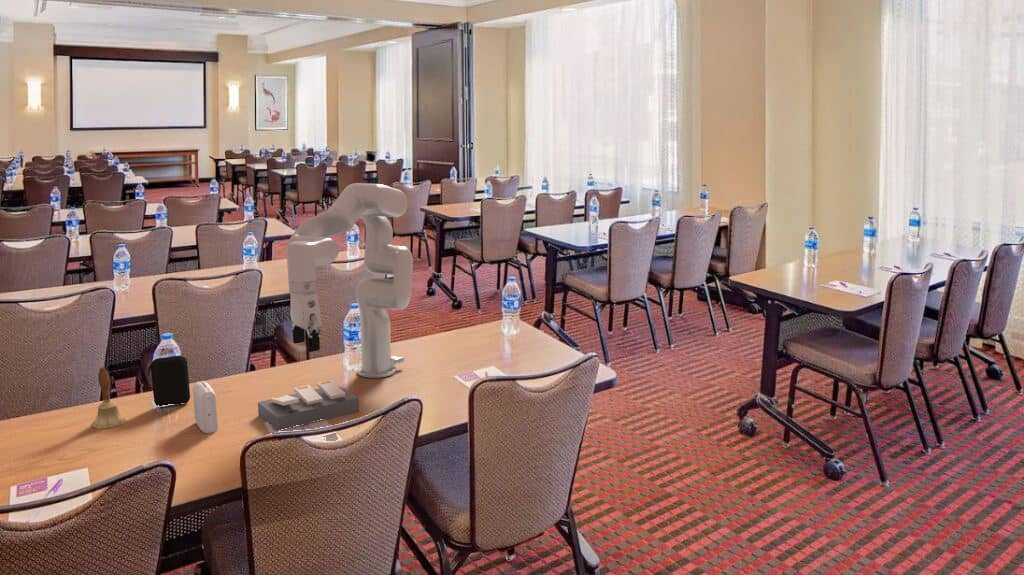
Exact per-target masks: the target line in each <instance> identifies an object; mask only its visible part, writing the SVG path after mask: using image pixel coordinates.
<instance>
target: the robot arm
mask: <svg viewBox="0 0 1024 575" xmlns="http://www.w3.org/2000/svg"><path fill="white" fill-rule="evenodd" d="M407 209H408V198H407V196H406V195H405V193H404V192H403V191H402V190H400V189H397V188H394V187H391V186H388V185H384V184H379V183H365V182H364V183H363V182H355V183H350V184H348V185H347V186H346V187H345V188H344V189H343V191H342V192H341V193H340V194H339V196H338V197H337V198H336V200H335V201H334V202H333V203H332V205H331V206H330V207H329V208H328V210H325V211H323V212H320V213H319V214H317V215H314V216H313V217H310V218H309V219H307V220H306V221H304V222H303V223H301V224H300V225H298V227H297V228H296V230H294V232H293V233H292V235H291V236H290V238H289V240H288V242H287V245H286V261H287V262H286V264H287V278H288V280H287V282H288V292H289V294H290V304H289V305H290V311H289V315H290V317H291V319H290V322H291V323H292V324H291V329H292V343H293V344H300V343H304V342H305V340H306V339H305V338H306V337H305V331H306V333H307V335H308V337H307V351H308V352H309V353H312V352H317V351H320V350H321V345H320V343H321V342H320V337H321V326H322V316H321V315H322V314H321V308H320V307H321V306H320V301H319V294H318V293H317V292H318V277H317V266H321V265H329V264H331V263H333V262H334V261H335V260H336V259H337V258H338V256H339V252H340V249H339V245H338V243H337V242H336V241H335V240H334V239H332V238H331V237H332V236H337V235H341V234H345V233H346V232H349V231H351V230H352V229H353V227H354V226H355V224H356V223H357V221H358V220H359V219H360V218H362V220H363V222H364V226H365V230H366V231H365V244H364V256H363V265H364V266H363V267H364V269H365V270H366V271H367V272H368V273H371V274H375V275H377V274H378V275H385V276H388V275H390V276H393V278H391V279H389V278H380V277H379V278H378V277H367V278H363V279H361V280H360V281H359V282H358V284H357V285H356V289H355V296H356V302H357V304H358V310H359V311H358V312H359V319H360V320H359V321H360V347H361V348H360V351H361V354H360V355H361V366H359V367H358V368H357V369H356V372H357V375H358V376H360V377H364V378H368V379H377V378H378V379H379V378H385V377H390V376H393V375H394V374H395V373H396V372H397V367H396V365H397V364H402V363H405V358H404V356H400V357H398V356H392V350H391V348H392V346H391V343H392V342H391V319H390V317H389V313H388V311H387V310H395V311H397V310H398V311H400V310H405V309H406V308H407V307H408V305H409V304H410V299H411V293H412V283H413V282H412V281H413V273H414V272H413V271H414V257H413V254H412V252H411V249H409V248H408V247H406V246H402V245H393V235H394V233H393V232H394V231H393V230H394V229H393V227H392V224H391V222H390V220H389V218H399V217H402V216H403V215H404V214H405V213H406V212H407ZM388 217H389V218H388ZM386 309H387V310H386ZM311 330H312V331H311Z"/></svg>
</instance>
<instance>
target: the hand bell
mask: <svg viewBox="0 0 1024 575" xmlns="http://www.w3.org/2000/svg"><path fill="white" fill-rule="evenodd" d="M97 379H98V385H99V387H100V389H101V393H102V395H101V396H102V401H103V402H101V403H100V404H98V407H97V415H96V417H95V419H94V420H93V421H92V422H91V426H93V427H92V428H94V427H95V428H94V429H97V428H98V430H105V428H107V429H106V430H108V429H113V428H116V427H119V426H122V425H123V424H125V423H126V421H127V419H126V418H125V416H123V415H122V414H121V413H120V411H119V408H118V404H117V403H116V402H114V401H111V396H110V392H109V386H110V376H109V374H108V371H107V370H106V367H104V366H102V367H99V370H98V375H97Z"/></svg>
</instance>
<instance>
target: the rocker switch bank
mask: <svg viewBox="0 0 1024 575" xmlns="http://www.w3.org/2000/svg"><path fill="white" fill-rule="evenodd" d="M336 385H337V386H339V387H340V388H341V389H342V390H343V391H344V392H345V396H344V397H339V398H335V399H330V398H329V397H328V396H327V395H326V394H325V393H324V392H323V391H322V390H321V389H320V388H319V387H318V388H315V389H314V388H313V389H314V390H315V391H316V392H317V393H318V394H319V395H320V396H321V397H322V398H323V402H318V403H314V404H310V405H307V404H306V403H305V402H304V400H303V399H302V398H301V397H300V396H299V395H298V394H297V393H293V394H287V395H288V396H292V397H295V398H299V402H297V403H292V404H288V405H284V406H283V405H280V404H277V403H274V402H271V398H270V399H266V400H262V401H258V402H257V409H258V410H257V411H258V417H260V418H261V419H262V420H263V419H264V422H265V423H267V422H268V423H267V424H269V425H270V424H271V425H272V426H273V427H272V426H271V425H270V426H271V427H272V428H274V429H275V428H276V429H278V430H277V431H278V432H280V431H279V430H281V429H285V428H289V427H293V426H296V425H302V424H305V425H308V424H307V423H309V424H311V423H310V422H313V421H317V420H320V419H325V420H329V419H332V418H337V417H341V416H344V415H348V414H352V413H356V412H360V400H359V397H358V396H357V395H355V394H353V393H351V392H350V391H348V390H346V389H345V388H343V387H341V386H340V385H338V384H336ZM317 422H318V421H317ZM313 423H314V422H313ZM302 426H303V425H302ZM276 429H275V430H276Z"/></svg>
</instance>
